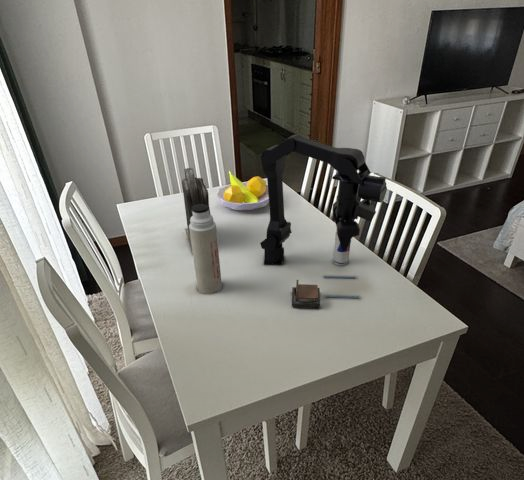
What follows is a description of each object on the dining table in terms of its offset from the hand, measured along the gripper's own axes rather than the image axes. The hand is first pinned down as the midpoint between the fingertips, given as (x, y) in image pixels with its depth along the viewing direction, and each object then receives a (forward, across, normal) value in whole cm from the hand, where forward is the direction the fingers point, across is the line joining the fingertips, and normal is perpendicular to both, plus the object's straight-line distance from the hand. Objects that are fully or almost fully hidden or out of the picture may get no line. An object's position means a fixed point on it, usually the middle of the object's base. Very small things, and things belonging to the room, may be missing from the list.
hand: (342, 243), depth 129 cm
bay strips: (+14, -4, 0) cm, 14 cm away
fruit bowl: (+14, +64, +37) cm, 75 cm away
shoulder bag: (+14, +28, +52) cm, 60 cm away
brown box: (+14, -12, +11) cm, 22 cm away
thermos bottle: (+14, -5, +43) cm, 45 cm away
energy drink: (+14, +11, -2) cm, 18 cm away
